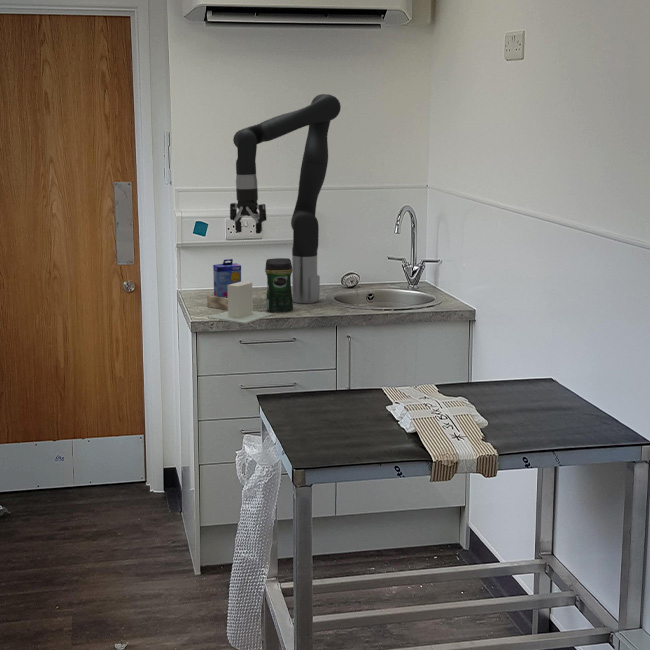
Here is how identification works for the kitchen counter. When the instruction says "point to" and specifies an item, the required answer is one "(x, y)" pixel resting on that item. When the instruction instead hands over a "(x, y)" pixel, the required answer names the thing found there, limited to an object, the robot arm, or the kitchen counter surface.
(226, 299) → the divider rack
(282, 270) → the coffee jar
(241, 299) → the block
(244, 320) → the sage mat
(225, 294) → the ink cartridge box
